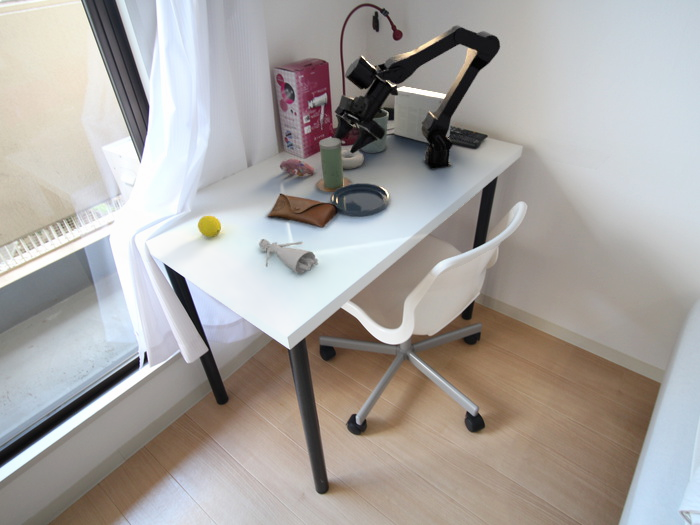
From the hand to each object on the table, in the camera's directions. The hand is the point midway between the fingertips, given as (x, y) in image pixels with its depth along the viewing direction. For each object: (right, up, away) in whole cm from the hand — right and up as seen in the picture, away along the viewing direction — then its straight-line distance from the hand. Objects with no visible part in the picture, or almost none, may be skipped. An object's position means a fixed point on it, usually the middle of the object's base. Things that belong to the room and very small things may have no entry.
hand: (342, 147), depth 124 cm
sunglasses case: (-11, -21, -8) cm, 25 cm away
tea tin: (-3, -10, +5) cm, 11 cm away
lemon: (-33, -26, -13) cm, 44 cm away
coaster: (-3, -10, +5) cm, 12 cm away
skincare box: (+27, +11, +31) cm, 43 cm away
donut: (+2, -1, +17) cm, 17 cm away
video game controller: (-14, -6, +12) cm, 20 cm away
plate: (+5, -16, -4) cm, 18 cm away
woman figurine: (-13, -33, -23) cm, 42 cm away
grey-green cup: (+10, +7, +26) cm, 29 cm away
